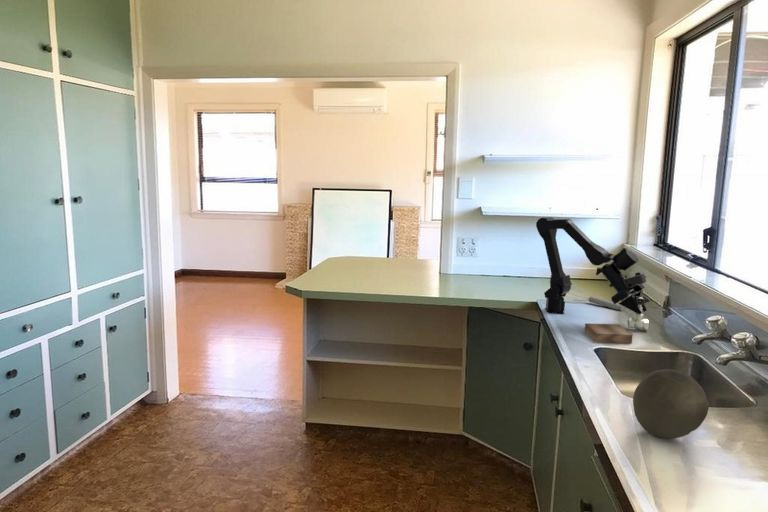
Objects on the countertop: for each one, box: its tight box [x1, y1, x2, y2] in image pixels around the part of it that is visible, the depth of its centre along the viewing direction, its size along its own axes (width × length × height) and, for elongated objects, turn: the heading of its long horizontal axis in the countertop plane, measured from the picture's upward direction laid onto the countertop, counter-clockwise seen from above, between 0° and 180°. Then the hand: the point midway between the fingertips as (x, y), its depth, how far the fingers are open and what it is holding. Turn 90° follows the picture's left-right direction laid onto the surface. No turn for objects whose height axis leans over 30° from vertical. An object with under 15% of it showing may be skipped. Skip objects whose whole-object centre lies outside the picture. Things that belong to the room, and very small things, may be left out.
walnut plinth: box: [584, 323, 633, 344], centre depth 188 cm, size 12×12×3 cm
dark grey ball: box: [632, 368, 710, 440], centre depth 117 cm, size 14×14×15 cm
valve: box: [626, 295, 651, 330], centre depth 196 cm, size 7×7×12 cm
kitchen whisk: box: [564, 285, 629, 312], centre depth 234 cm, size 6×34×6 cm, turn 40°
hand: (643, 312), depth 195 cm, fingers closed on valve, 5 cm apart
